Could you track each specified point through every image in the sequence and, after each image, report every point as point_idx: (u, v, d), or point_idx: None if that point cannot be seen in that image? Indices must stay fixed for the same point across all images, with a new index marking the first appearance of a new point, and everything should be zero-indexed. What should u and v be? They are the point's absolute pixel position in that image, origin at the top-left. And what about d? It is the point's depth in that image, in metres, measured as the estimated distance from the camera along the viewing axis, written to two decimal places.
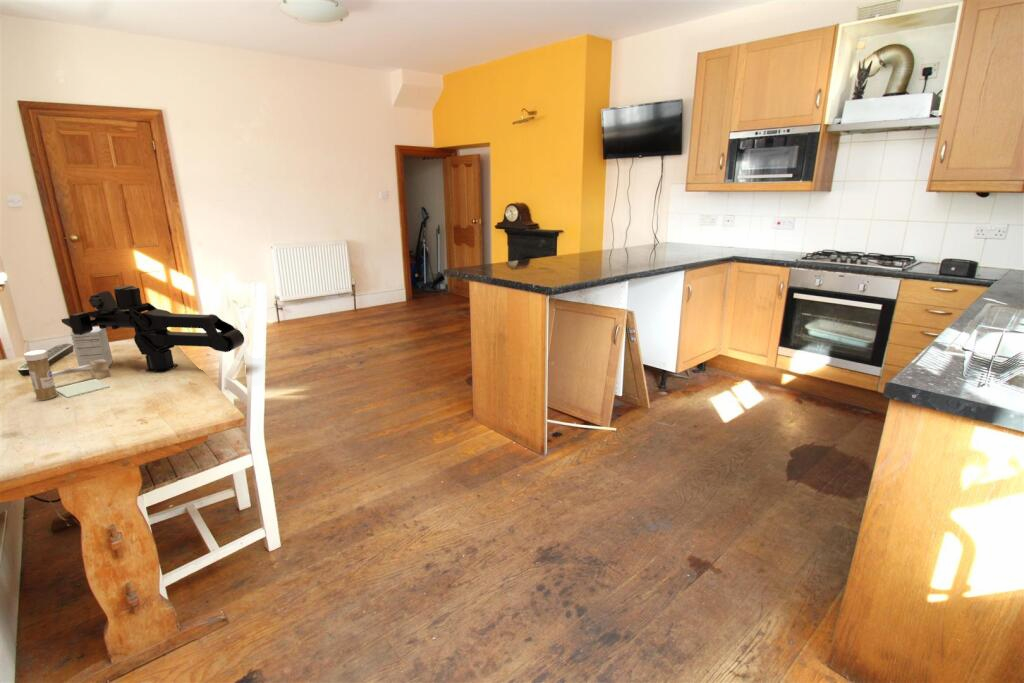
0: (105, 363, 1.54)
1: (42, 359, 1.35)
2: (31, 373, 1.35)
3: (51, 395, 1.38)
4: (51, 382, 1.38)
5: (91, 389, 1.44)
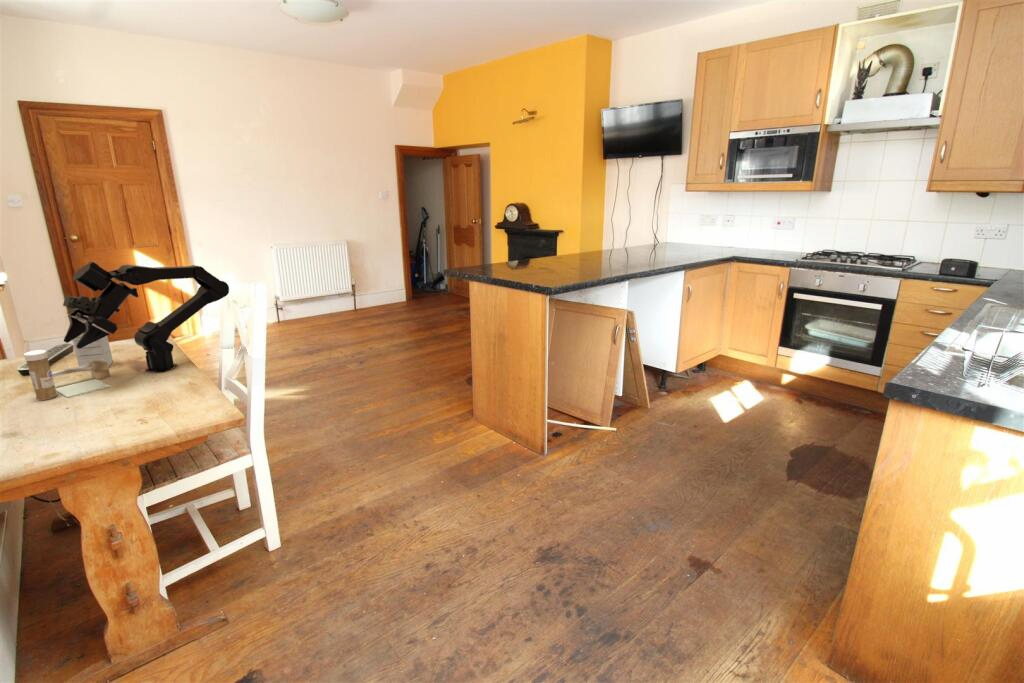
0: (105, 363, 1.54)
1: (42, 359, 1.35)
2: (31, 373, 1.35)
3: (51, 395, 1.38)
4: (51, 382, 1.38)
5: (91, 389, 1.44)
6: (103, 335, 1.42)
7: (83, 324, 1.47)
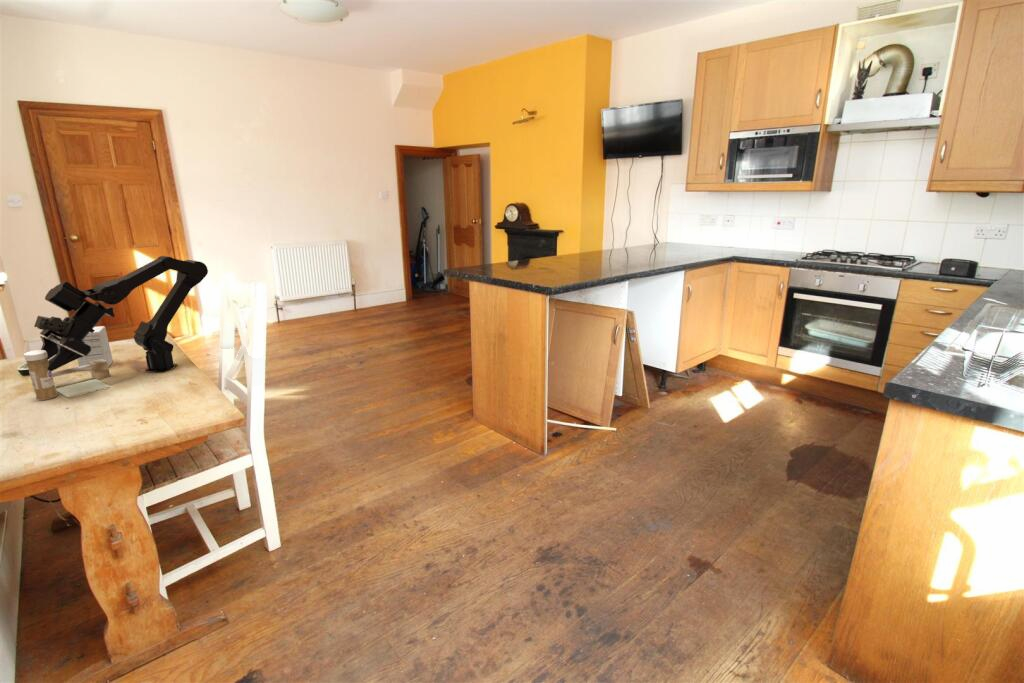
0: (105, 363, 1.54)
1: (42, 359, 1.35)
2: (31, 373, 1.35)
3: (51, 395, 1.38)
4: (51, 382, 1.38)
5: (91, 389, 1.44)
6: (76, 357, 1.38)
7: (56, 345, 1.43)
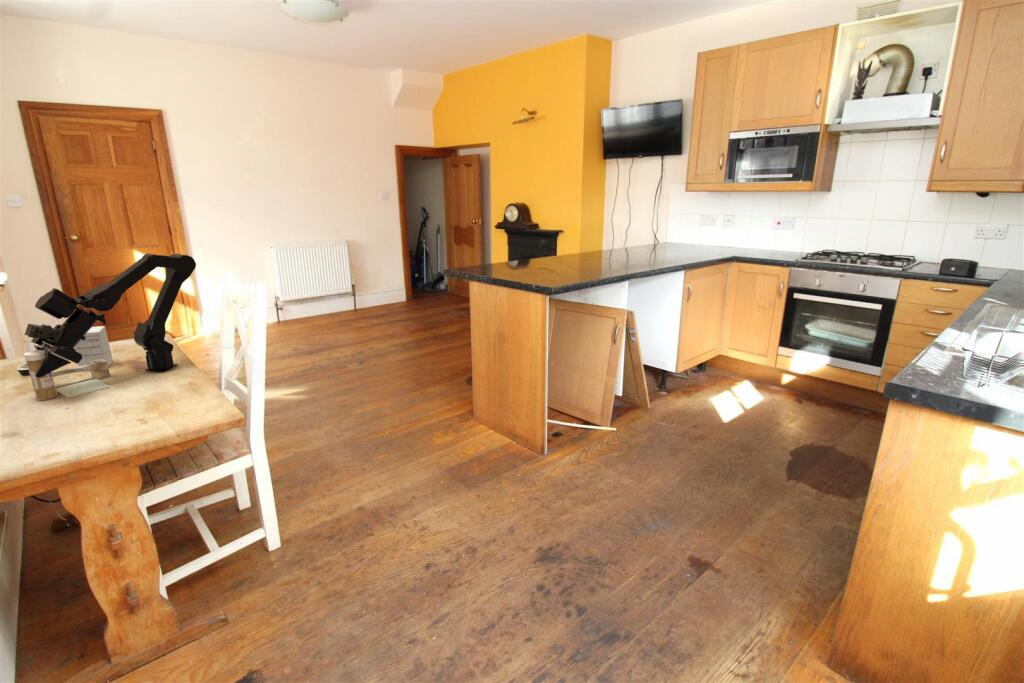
0: (105, 363, 1.54)
1: (42, 359, 1.35)
2: (31, 373, 1.35)
3: (51, 395, 1.38)
4: (51, 382, 1.38)
5: (91, 389, 1.44)
6: (64, 363, 1.38)
7: None
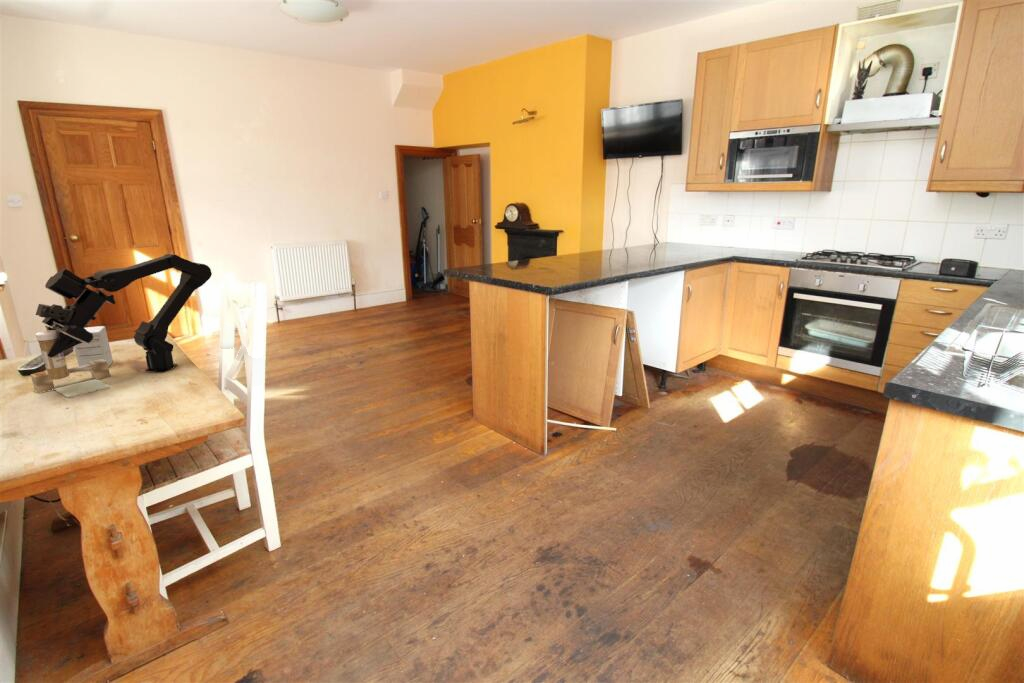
0: (105, 363, 1.54)
1: (54, 338, 1.37)
2: (43, 353, 1.36)
3: (63, 375, 1.40)
4: (63, 362, 1.40)
5: (91, 389, 1.44)
6: (75, 343, 1.39)
7: None
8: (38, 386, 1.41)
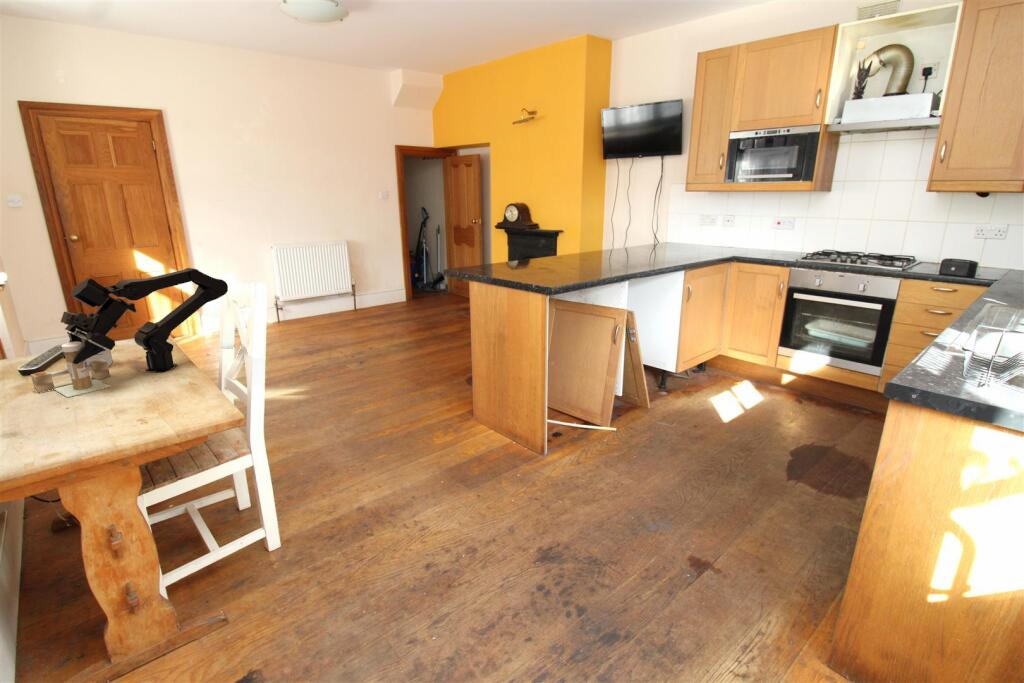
0: (105, 363, 1.54)
1: None
2: (68, 364, 1.41)
3: (87, 385, 1.45)
4: (86, 372, 1.45)
5: (91, 389, 1.44)
6: (99, 350, 1.43)
7: None
8: (38, 386, 1.41)
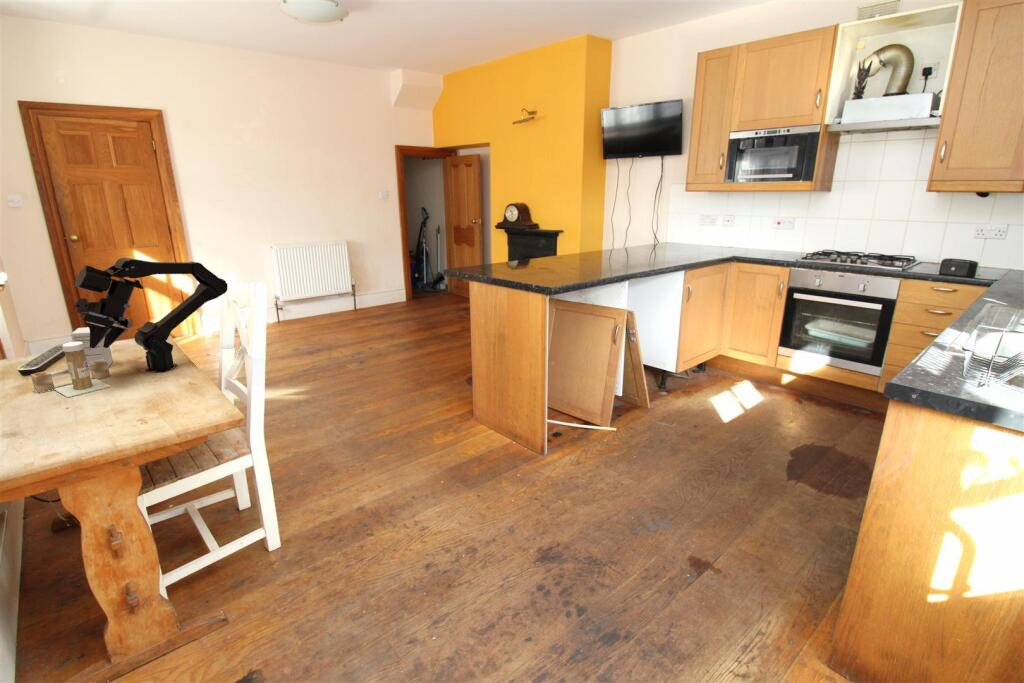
0: (105, 363, 1.54)
1: (79, 350, 1.42)
2: (69, 363, 1.42)
3: (87, 385, 1.45)
4: (87, 372, 1.45)
5: (91, 389, 1.44)
6: (105, 330, 1.43)
7: (116, 328, 1.53)
8: (38, 386, 1.41)
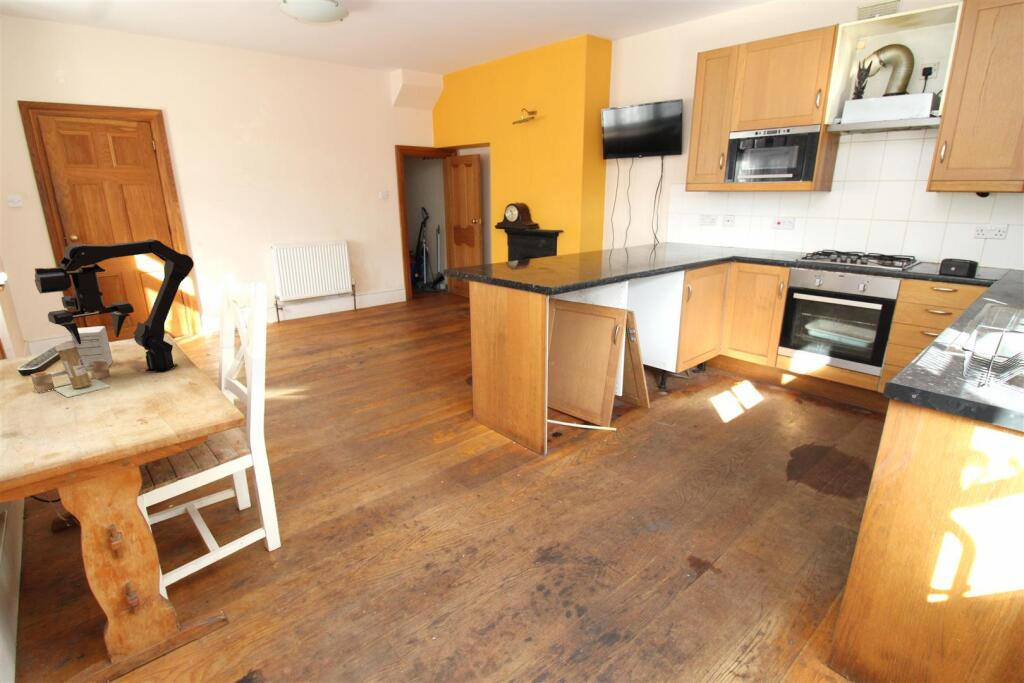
0: (105, 363, 1.54)
1: (72, 347, 1.42)
2: (64, 362, 1.42)
3: (85, 382, 1.45)
4: (83, 369, 1.45)
5: (91, 389, 1.44)
6: None
7: (115, 316, 1.50)
8: (38, 386, 1.41)
